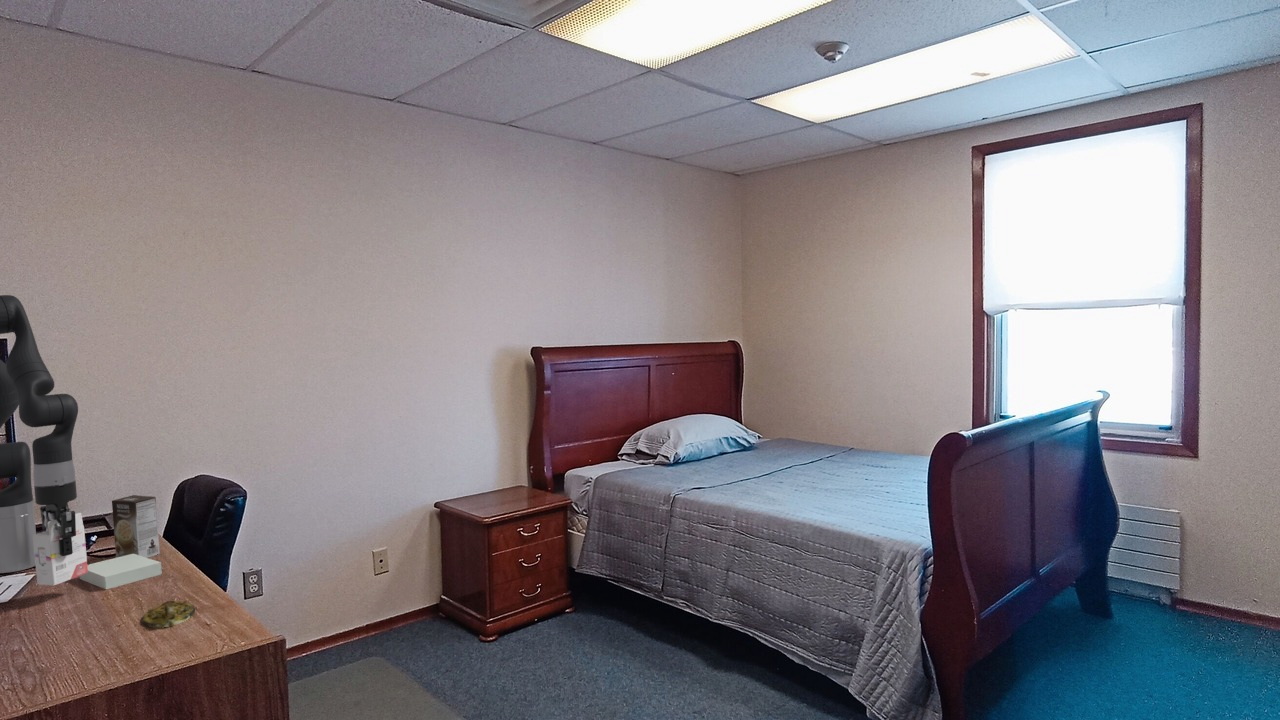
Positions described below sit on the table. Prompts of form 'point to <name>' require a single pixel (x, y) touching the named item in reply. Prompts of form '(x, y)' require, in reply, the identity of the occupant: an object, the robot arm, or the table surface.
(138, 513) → the coffee box
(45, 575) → the ink cartridge box
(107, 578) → the plinth
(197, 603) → the table surface
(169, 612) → the olive green oval lump
